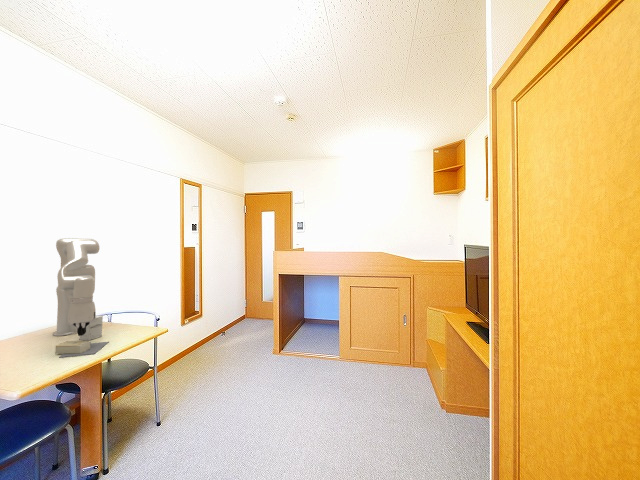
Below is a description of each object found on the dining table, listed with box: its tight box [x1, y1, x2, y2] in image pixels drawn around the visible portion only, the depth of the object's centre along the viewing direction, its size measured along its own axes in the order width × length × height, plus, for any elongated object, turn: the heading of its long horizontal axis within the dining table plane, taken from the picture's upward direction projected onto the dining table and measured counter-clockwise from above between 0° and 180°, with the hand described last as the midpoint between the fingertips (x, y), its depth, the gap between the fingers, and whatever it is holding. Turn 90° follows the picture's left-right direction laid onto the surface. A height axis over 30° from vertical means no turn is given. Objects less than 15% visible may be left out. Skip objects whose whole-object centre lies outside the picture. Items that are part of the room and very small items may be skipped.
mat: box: [58, 341, 110, 359], centre depth 130 cm, size 16×14×1 cm
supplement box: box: [78, 314, 103, 341], centre depth 146 cm, size 7×7×13 cm
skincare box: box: [54, 340, 92, 355], centre depth 126 cm, size 6×4×12 cm
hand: (81, 334), depth 129 cm, fingers closed
